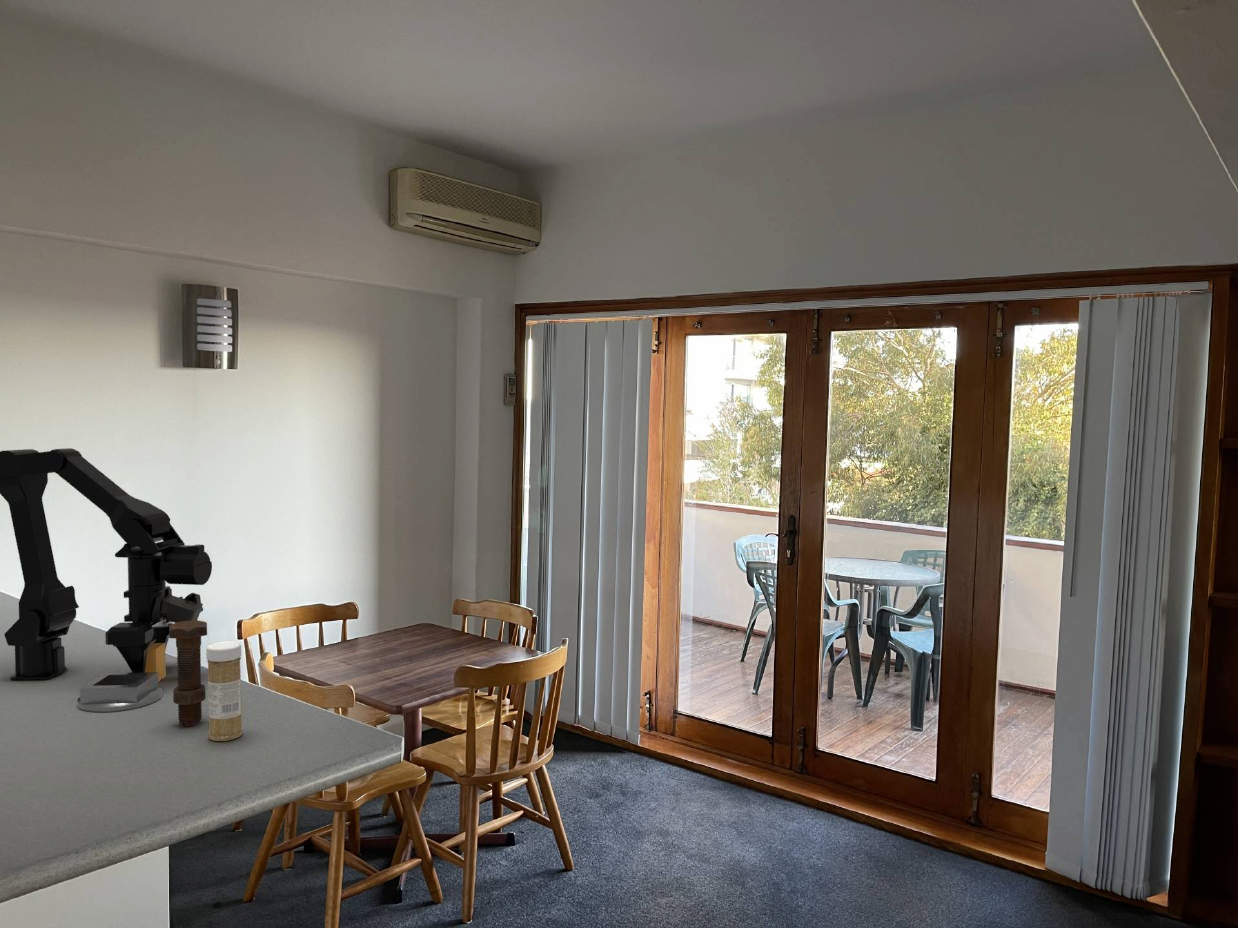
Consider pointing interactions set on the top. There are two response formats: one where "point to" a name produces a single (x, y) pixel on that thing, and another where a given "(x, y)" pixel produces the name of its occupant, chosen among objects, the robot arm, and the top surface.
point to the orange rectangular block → (156, 660)
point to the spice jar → (224, 690)
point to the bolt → (189, 670)
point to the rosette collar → (120, 692)
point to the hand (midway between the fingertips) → (148, 672)
